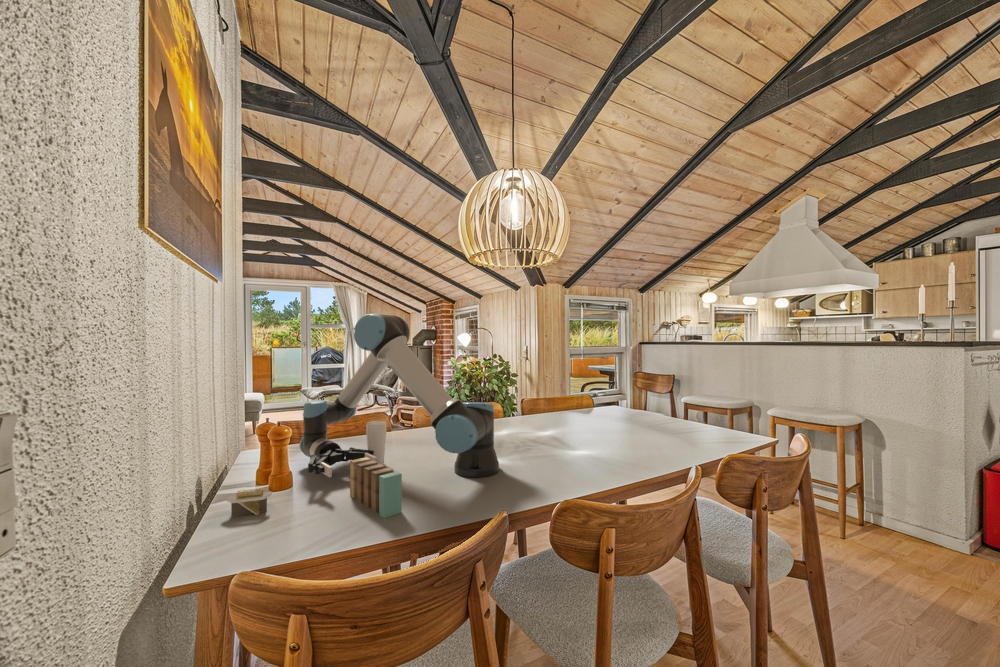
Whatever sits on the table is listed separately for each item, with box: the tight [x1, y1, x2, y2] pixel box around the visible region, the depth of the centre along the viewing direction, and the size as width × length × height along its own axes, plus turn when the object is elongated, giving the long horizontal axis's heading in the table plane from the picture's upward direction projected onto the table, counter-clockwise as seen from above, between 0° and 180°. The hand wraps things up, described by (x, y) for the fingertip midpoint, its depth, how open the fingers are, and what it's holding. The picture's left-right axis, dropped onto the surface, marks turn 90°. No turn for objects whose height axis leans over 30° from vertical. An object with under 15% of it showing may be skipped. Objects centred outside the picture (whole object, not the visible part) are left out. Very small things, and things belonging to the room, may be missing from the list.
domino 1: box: [349, 457, 371, 499], centre depth 116 cm, size 5×2×10 cm, turn 134°
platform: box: [226, 487, 273, 517], centre depth 103 cm, size 12×18×7 cm, turn 109°
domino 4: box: [370, 467, 394, 513], centre depth 107 cm, size 5×2×10 cm, turn 134°
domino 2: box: [356, 460, 378, 504], centre depth 113 cm, size 5×2×10 cm, turn 134°
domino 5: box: [378, 471, 403, 519], centre depth 104 cm, size 5×2×10 cm, turn 134°
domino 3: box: [363, 464, 386, 508], centre depth 110 cm, size 5×2×10 cm, turn 134°
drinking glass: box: [365, 420, 387, 465], centre depth 143 cm, size 7×7×15 cm
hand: (353, 466), depth 119 cm, fingers open, 13 cm apart
